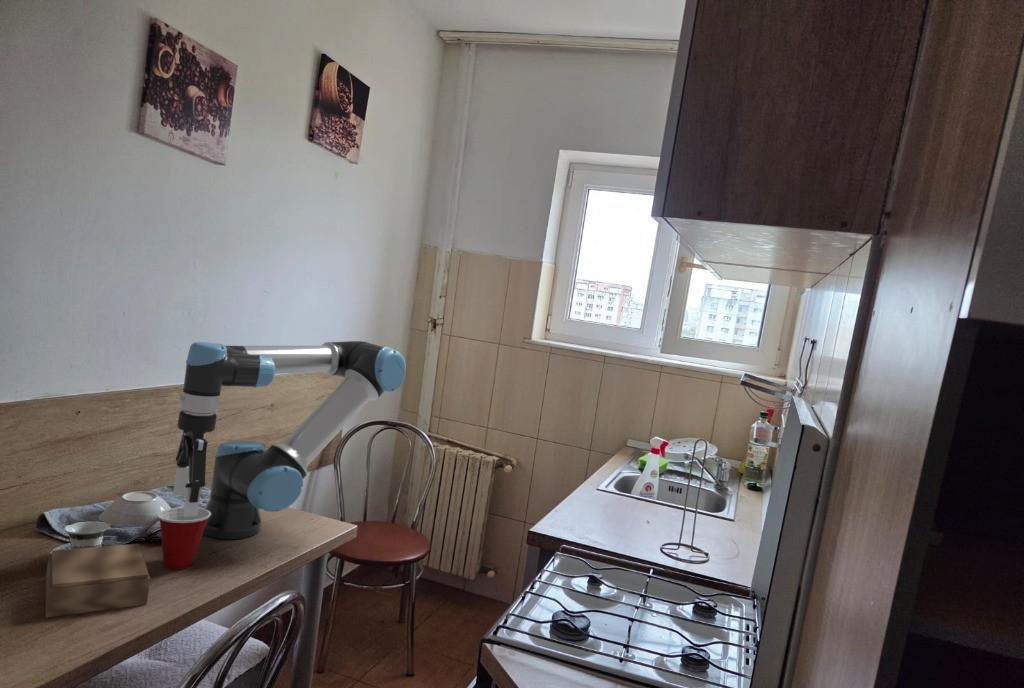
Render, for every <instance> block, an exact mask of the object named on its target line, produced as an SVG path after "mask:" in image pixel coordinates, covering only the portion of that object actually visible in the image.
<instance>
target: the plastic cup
mask: <svg viewBox="0 0 1024 688" xmlns="http://www.w3.org/2000/svg"><path fill="white" fill-rule="evenodd" d="M183 511H184V506H181V507H172V508H167V509H163V510H160V511H159V512H158V513H157V518H158V520H159V524H160V533H161V550H162V562H163V566H164V567H165V568H167V569H168V570H169V569H170V570H183V569H187V568H190V567H191V566H192V565H193V563H194V560H195V557H196V554H197V551H198V549H199V547H200V543H201V540H202V537H203V535H204V534H203V531H204V528H205V526H206V523H207V520H208V518H209V517H210V516H211V512H210V511H208V510H206V509H205V508H201V507H199V508H198V515H197V516H187V517H183Z"/></svg>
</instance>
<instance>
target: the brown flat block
mask: <svg viewBox="0 0 1024 688" xmlns="http://www.w3.org/2000/svg"><path fill="white" fill-rule="evenodd" d="M147 566H148V565H147V564H146V561H145V556H144V554H143V550H142V547H141V545H140V543H130V544H118V545H106V546H93V547H82V548H69V549H66V548H65V549H57V550H52V551H51V553H49V554H48V560H47V567H46V576H45V618H53V617H54V618H56V617H60V616H61V617H62V616H69V615H76V614H77V615H78V614H85V613H92V612H99V611H107V610H114V609H115V610H116V609H123V608H131V607H138V606H145V605H146V604H148V599H149V591H150V585H151V584H150V583H151V577H150V574H149V571H148V567H147Z"/></svg>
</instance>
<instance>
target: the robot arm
mask: <svg viewBox="0 0 1024 688" xmlns="http://www.w3.org/2000/svg"><path fill="white" fill-rule="evenodd" d="M185 363H186V367H185V375H184V381H183V389H182V395H181V396H179V397H178V401H181V403H180V409H181V410H180V412H179V413H178V420H177V428H178V429H179V430H180V431H182V435H181V439H180V442H179V447H178V450H177V454H176V457H175V461H176V471H175V478H174V485H173V490H172V496H173V497H174V496H185V499H184V505H183V507H184V511H183V517H187V516H197V515H198V508H200V507H199V506H200V501H201V494H202V488H205V486H206V468H207V467H206V466H207V465H206V463H207V450H208V449H207V448H208V443H209V442H208V440H206V439H205V435H204V434H206V433H210V432H213V431H214V430H215V428H216V424H217V423H216V422H217V418H218V417H217V414H216V413H218V411H219V405H220V398H221V390H222V387H245V388H246V387H247V388H250V387H251V388H258V387H259V388H260V387H262V388H263V387H268V386H269V385H271V383H272V382H273V381H274V379H275V375H282V374H305V373H308V374H311V373H313V374H314V373H322V374H323V375H325V376H328V377H329V376H330V377H331V376H335V377H337V376H338V377H341V378H344V380H343V381H342V382H341V383H340V384H339V386H337V387H336V388H334V389H335V390H333V391H332V392H331V394H329V395H328V396H327V398H325V399H324V400H323V401H322V403H320V404H319V405H318V406H317V408H315V410H314V411H312V413H310V415H309V416H307V418H305V420H304V421H303V422H302V423H301V424H300V425H299V426H298V427H297V428H296V429H295V430H294V431H292V433H290V435H289V436H288V437H287V438H286V439H285V440H284V441H283V442H282V443H273V444H272V445H270V446H269V447H268V448H266V444H265V443H264V442H260V441H253V440H252V441H251V440H233V441H232V440H231V441H226V442H223V443H220V444H219V445H218V446H217V448H216V453H215V456H214V465H213V466H214V467H213V473H212V479H211V480H212V481H211V485H210V486H211V488H210V495H209V499H208V501H207V503H206V506H205V507H204V509H206V510H208V511H210V512H211V516H210V517H209V518H208V520H207V523H206V526H205V528H204V531H203V534H202V535H204V536H207V537H210V538H214V539H219V540H220V539H221V540H237V539H238V540H239V539H245V538H249V536H250V537H252V535H253V536H255V535H257V534H258V533H259V532H260V531H261V529H262V523H263V522H262V515H261V510H263V511H265V512H271V513H273V512H279V511H284V510H285V509H287V508H289V507H290V506H292V505H293V504H294V503H296V501H298V498H299V497H300V496H301V493H302V491H303V490H302V488H303V487H304V479H305V478H306V477H307V475H308V466H309V465H310V464H311V462H313V461H314V459H315V458H317V456H318V455H319V454H320V453H321V452H322V451H323V450H324V449H325V448H326V446H327V445H329V443H330V442H332V440H333V439H334V438H335V437H336V436H337V435H338V434H339V433H340V432H341V431H342V429H343V428H345V426H346V425H347V424H348V423H349V422H350V421H351V420H352V419H353V418H354V417H355V416H356V414H358V412H360V410H361V409H362V408H363V407H364V406H365V405H366V404H367V403H368V402H369V401H377V400H378V399H379V398H380V397H381V396H382V395H383V394H384V393H385V392H388V393H389V392H394V391H397V390H398V389H399V388H401V386H402V384H403V383H404V382H405V379H406V376H407V375H406V374H407V373H406V371H407V365H406V359H405V358H404V356H403V355H402V353H401V352H399V351H398V350H396V349H393V348H392V347H389V346H382V345H379V344H378V345H377V344H374V343H370V342H367V341H362V340H352V341H351V340H350V341H348V340H347V341H327V342H324V343H322V344H321V345H225V344H224V345H223V344H222V343H214V342H206V341H196V342H193V343H191V345H190V346H189V351H188V355H187V358H186V361H185ZM256 533H257V534H256Z"/></svg>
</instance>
